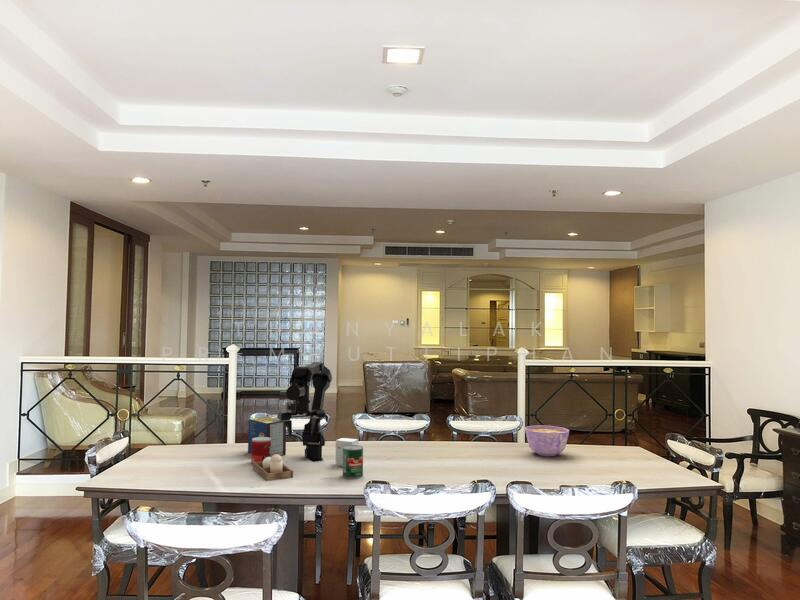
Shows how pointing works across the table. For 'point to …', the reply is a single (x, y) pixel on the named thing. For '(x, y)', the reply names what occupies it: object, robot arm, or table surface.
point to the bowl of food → (546, 439)
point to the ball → (266, 462)
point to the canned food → (260, 449)
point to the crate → (272, 476)
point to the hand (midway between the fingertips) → (301, 436)
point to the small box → (339, 448)
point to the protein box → (268, 433)
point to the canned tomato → (352, 461)
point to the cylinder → (276, 464)
